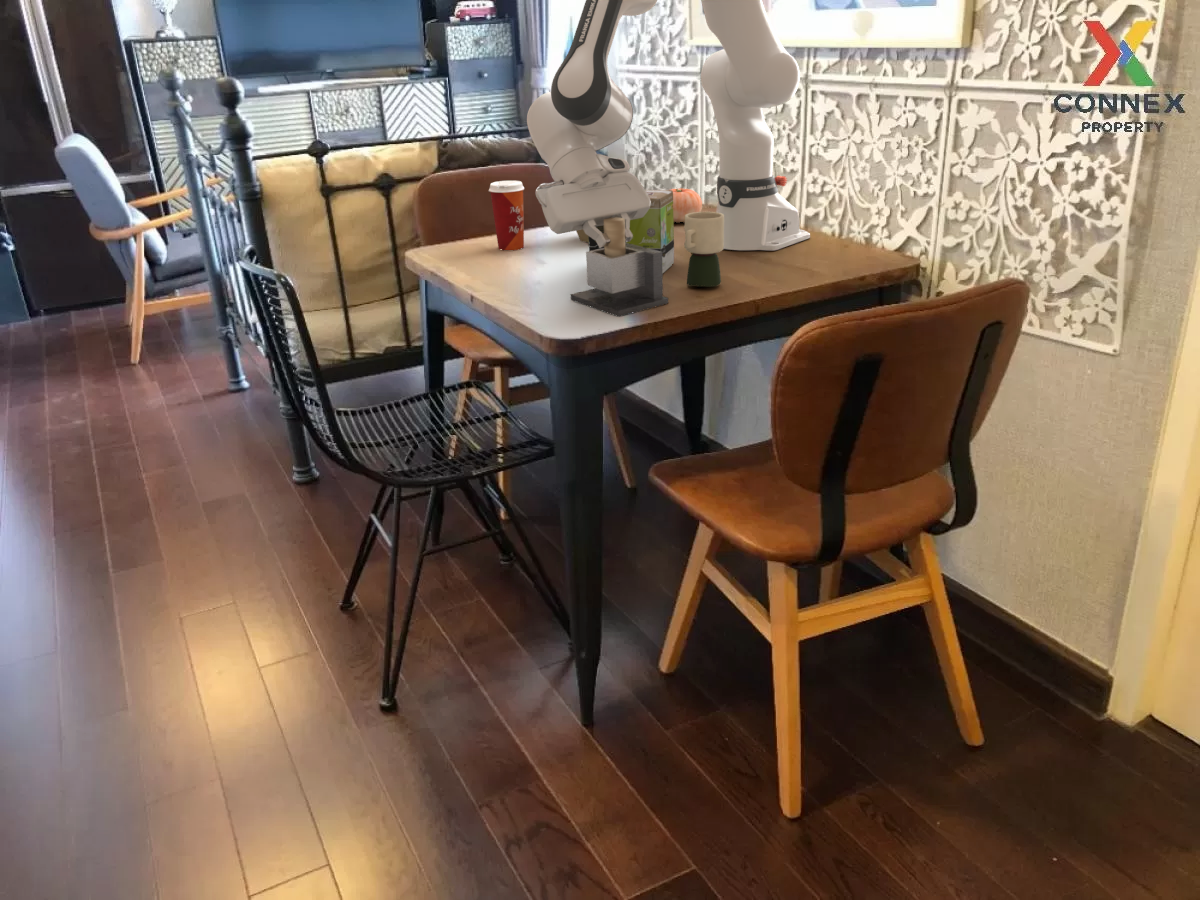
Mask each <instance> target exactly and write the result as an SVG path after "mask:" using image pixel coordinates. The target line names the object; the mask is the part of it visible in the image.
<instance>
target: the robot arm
mask: <svg viewBox="0 0 1200 900" xmlns="http://www.w3.org/2000/svg"><path fill="white" fill-rule="evenodd" d="M700 1H701V2H700V3H701V4H702V10H703V13H704V18H705V21H706V25H707V27H708V29H709V30H710V31H711V33H713V35H715V37H716V38H717V39H718V41H719V42H720V45H721V46H722V48H723V49H720V50H718V51H715V52H713V53H712V54H710V55H709V56H708V57H707V58H706V60H705V61H704V62H703V65H702V68H701V72H700V73H701V74H700V81H701V85H702V89H703V90H704V93H706V95H707V96H708V98H709V100H710V103H711V107H712V109H713V113H714V118H715V121H716V122H715V123H716V127H717V131H718V142H719V147H718V148H719V155H718V156H719V158H718V159H719V160H718V161H719V165H718V166H719V168H718V169H719V174H718V176H717V179H716V195H717V199H718V200H717V204H716V209H715V212H718V213H722V214H724V247H723V250H729V251H731V250H732V251H778V250H781V249H784V248H785V247H788V246H792V245H794V244H798V243H800V242H802V241H806V240H808V239H811V233H810V232H809V231H806V230H804V229H800V215H799V214H800V213H799V211H798V209H797V208H796V207H795V206H794V205H793V204H791V203H790V202H789V201H788V200H787V199H786V198H785V197H783V196H782V195H781V194H780V193H779V189H778V186H781V187H785V186H786V185H787V183H788V178H787V177H786V176H784V175H783V176H781V175H777V176H774V174H773V173H774V172H773V171H774V170H773V169H774V168H773V166H774V146H775V145H774V144H775V143H774V141H775V138H774V135H773V133H772V131H771V129H770V128H769V126H768V125H767V123H766V120H765V117H764V113H763V109H769V108H772V107H777V106H781V105H784V104H786V103H788V102H789V101H790V100H791V99H793V98H794V95H795V94H796V93H797V91H798V88H799V84H800V82H801V81H800V79H801V71H800V67H799V65H798V62H797V60H796V59H795V58H794V57H793V56H792V55H791V54H790V53H789V52H788V51H787V50H786V49H785V48H784V46H783V45H782V42H781V41H780V39H779V38H778V36H777V34H776V31H775V30H774V27H773V26H772V23H771V22H770V19H769V17H768V15H767V13H766V9H765V7H764V4H763V0H700ZM657 3H658V0H585V1H584V5H583V8H582V11H581V14H580V17H579V21H578V23H577V27H576V30H575V33H574V37H573V39H572V43H571V45H570V48H569V50H568V52H567V54H566V56H565V58H564V59H563V61H562V62H561V64H560V66H559V67H558V69H557V71H556V72H555V74H554V76H553V78H552V82H551V88H550V91H548V92H545V93H543V94H541V95H539V96H538V97H537V98H535V100H534V101H533V102H532V103H531V105H530V106H529V109H528V111H527V116H526V124H527V128H528V131H529V134H530V137H531V139H532V142H533V144H534V146H535V148H536V150H537V152H538V154H539V156H540V157H541V159H542V161H544V162H545V163H546V165H548V168H549V174H550V176H551V178H552V179H553V181H552V182H543V183H540V184H539V185H538V187H537V188H536V189H535V197H536V199H537V200H538V203H539V204H540V205H541V208H542V212H543V215H544V219H545V221H546V222H547V225H548V227H549V230H551V231H552V232H553V233H555V234H557V235H560V234H565V233H571V232H576V231H577V230H582V229H583V230H584V232H585V234H587V235H588V236H589V237H591V238H592V239H594V240H596V242H597V244H598V246H599V247H600V248H601V247H606V246H608V244H609V243H610V238H608V235H607V234H606V233H602V232H601V231H599V230H598V229H597V228H596V227H597V226H602V225H604V219H606V218H624V219H625V242H630V241H631V239H632V238H633V234H632V233H631V231H630V229H629V228H630V220H633V219H638V218H642V217H644V215H645V214H646V213H647V211H648V210H649V208H650V205H651V201H650V198H649V196H648V194H647V193H646V191H645V190H646V189H645V188H644V186H643V184H642V183H641V181H640V180H639V178H638V177H637V176H636V175H635V174H633V173H632V172H629V171H630V168H631V167H630V164H629V162H628V161H627V160H626V159H624V158H619V157H618V158H617V157H611V156H607V155H604V154H601V153H597V151H600V150H603V149H604V148H606V147H608V146H610V145H612V144H614V143H615V142H617V141H619V140H620V139H621V138H623V137H624V136H625V135H626V134H627V132H628V131H629V129H630V128H631V125H632V122H633V119H634V118H633V117H634V111H633V110H634V109H633V104H632V102H631V101H630V99H629V98H628V97H627V95H626V94H625V93H624V92H623V90H622V89H621V88H620V87H619V85H617V84H616V83H615V81H614V80H613V79H612V78H611V75H610V71H609V67H608V66H609V65H608V59H609V55H610V54H609V53H610V51H611V48H612V45H613V41H614V38H615V35H616V32H617V29H618V26H619V23H620V21H621V19H622V17H623V16H629V17H634V16H635V17H636V16H639V15H642V14H645V13H647V12H648V11H650V10H651V9H653V7H655V5H656V4H657Z"/></svg>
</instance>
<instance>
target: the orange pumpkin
mask: <svg viewBox="0 0 1200 900" xmlns="http://www.w3.org/2000/svg"><path fill="white" fill-rule="evenodd" d="M669 190H673V219H674V223H675V222H676V224H680V222H683V223H685V215H686V214H689V213H694V212H702V209H703V201H702V198H701V196H700V194H698V193H697V192H696V191H695V190H693V189H690V188H685V187H684V188H683V187H680V188H670V189H669Z"/></svg>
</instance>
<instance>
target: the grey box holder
mask: <svg viewBox="0 0 1200 900" xmlns="http://www.w3.org/2000/svg"><path fill="white" fill-rule="evenodd" d="M625 251H626V254H625V255H620V256H615V257H609V256H606V255H605V248H601V249H597V250H592V251H589V250H587V251H586V252H585V255H586V257H585V259H586V260H585V261H586V280H587V282H586V283H587V284H586V285H587V286H588V287H590V288H592V289H588V290H583V291H580V292H574V293H570V300H571V301H573V302H576V303H579V304H582V305H584V306H587V305H588V306H587V307H590V306H591V308H593V309H595V308H596V310H598V309H599V311H601V310H603V311H602V312H604V311H605V313H607V312H608V313H607V314H610V313H611V314H610V315H612V314H614V315H613V316H615V315H617V316H616V317H618V316H619V317H622V316H621V315H623V316H625V315H624V314H627V315H629V314H628V313H631V314H633V313H632V312H634V313H637V312H636V311H638V312H641V311H640V310H642V311H644V310H643V309H646V310H648V309H647V308H650V309H652V307H654V308H656V307H655V306H657V307H660V306H659V305H661V306H664V305H663V304H665V305H668V304H669V297H666V296H663V293H664V289H663V287H664V286H663V285H664V283H663V282H664V279H663V274H664V273H663V271H662V252H661V251H657V250H653V249H649V248H645V247H641V246H637V245H634V244H630V243H626V242H625ZM667 303H668V304H667Z"/></svg>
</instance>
